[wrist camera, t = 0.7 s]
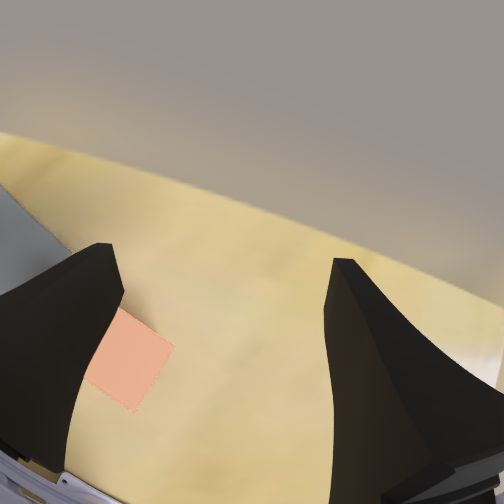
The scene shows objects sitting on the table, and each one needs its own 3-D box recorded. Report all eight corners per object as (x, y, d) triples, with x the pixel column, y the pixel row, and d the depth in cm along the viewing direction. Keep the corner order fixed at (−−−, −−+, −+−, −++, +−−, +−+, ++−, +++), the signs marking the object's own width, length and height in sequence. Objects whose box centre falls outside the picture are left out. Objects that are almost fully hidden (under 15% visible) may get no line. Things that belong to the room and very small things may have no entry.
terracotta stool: (135, 398, 20) (134, 412, 15) (54, 338, 19) (29, 333, 14) (167, 347, 23) (175, 346, 17) (87, 288, 22) (72, 269, 16)
